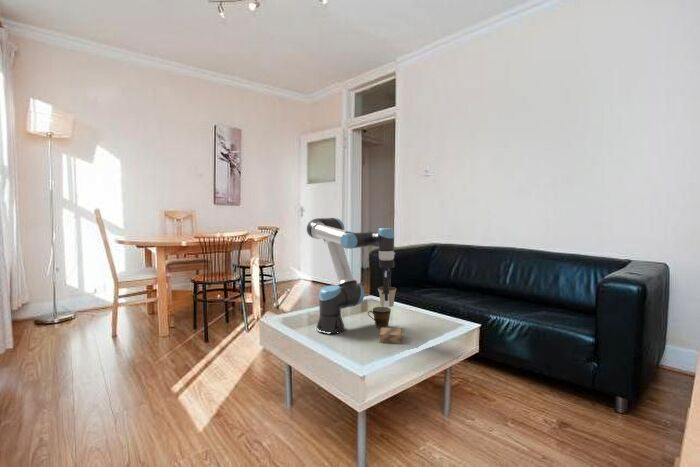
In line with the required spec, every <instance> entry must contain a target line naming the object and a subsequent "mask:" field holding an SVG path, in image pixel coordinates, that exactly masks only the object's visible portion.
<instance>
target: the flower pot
mask: <svg viewBox="0 0 700 467" xmlns="http://www.w3.org/2000/svg"><path fill="white" fill-rule="evenodd" d="M377 290H378V293H379V294H378V295H379V300H380V307H384V294H382V292H383V286H380V287H378V288H377ZM396 292H397V288H396V287H395V286H394V287H392V286H391V287H389V307H388V308H391V307H394V306H395V305H394V302H395V296H396Z"/></svg>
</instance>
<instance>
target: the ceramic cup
mask: <svg viewBox="0 0 700 467" xmlns="http://www.w3.org/2000/svg"><path fill="white" fill-rule="evenodd" d="M391 310H392V309H391V307H382V306H376V307H373V308H372V310H369V311H368V312H367V315H368V316H369V317H370V318H371V319H372V320H373V321H374V324H375V328H377V329H380V328H389V322H390V317H391ZM369 313H372V315H373V316H371V315H370V314H369ZM373 317H374V318H373Z"/></svg>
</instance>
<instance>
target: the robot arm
mask: <svg viewBox="0 0 700 467" xmlns="http://www.w3.org/2000/svg"><path fill="white" fill-rule="evenodd" d="M306 233H307V235H308V237H310V238H312V239H316V240H320V239H323V242H324V244H326V245H327V247H328V252H329V255H330V257H331V261H332V265H333V269H334V272H335V274H336V280H337V282H338V283H337V285H336V284H335V285H334V284H333V285H327V286H324V287H322V288H321V289H320V290H319V293H318V294H319V295H318V301H319V304H318V305H319V307H318V308H319V317H318V319H317V324H316V329H317V328H318V329H319V330H321V331H325V332H331V333H337V332H341V333H343V332H344V331H345V322H344V321H343V317H342V309H347V308H351V307H352V308H353V307H357V306H359V305H361V304H362V303H363V301H364V298H365V290H364V288H363V286H362V285H361V284H359V283H358V281H357V279H354V277H353V275H352V274H353V273H352V272H351V268H350V264H349V262H348V261H349V260H348V258H347V253H346V251H345V249H349V250H351V249H359V248H368V247H378V259H379V260H378V267H379V268H380V269H381V268H382V269H383V270H382V280H383V282H382V283H383V284H382V287H383V292H382V294H384V307H388V308H390V307H389V287H392V285H391V284H392V283H391V282H392V281H391V278H392V276H391V275H392V269H393V268H395V260H394V259H395V255H396V252H395V232H394V229H393V228H392V227H384V228H383V227H382V228H381V227H380V228H378V231H371V230H369V231H363V232H361V231H360V232H352V231H349V230H346V229H345V225H344V222H342V220H341V219H340V218H336V217H324V218H322V217H321V218H320V217H319V218H318V217H317V218H314V219H312V220H310V221H309V222H308V223H307V225H306ZM342 331H343V332H342ZM337 334H338V333H337Z"/></svg>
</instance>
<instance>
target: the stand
mask: <svg viewBox="0 0 700 467" xmlns="http://www.w3.org/2000/svg"><path fill="white" fill-rule="evenodd" d="M378 340H379V343H381V344H382V343H384V344H403V328H402V327H401V328H400V327H387V328H379V334H378Z"/></svg>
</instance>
